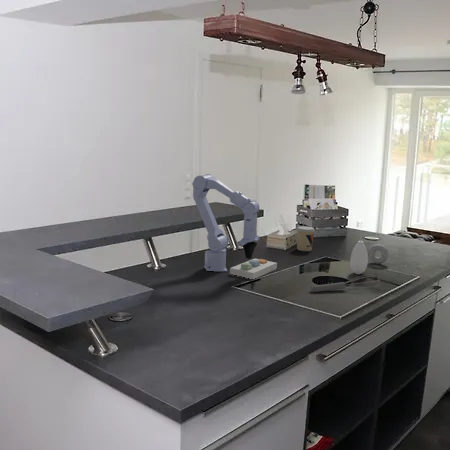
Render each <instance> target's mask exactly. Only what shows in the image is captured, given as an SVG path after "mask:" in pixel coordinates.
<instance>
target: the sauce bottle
mask: <svg viewBox="0 0 450 450" xmlns="http://www.w3.org/2000/svg"><path fill="white" fill-rule="evenodd" d="M362 237H363V236H360V239H359V240H358V241H357V243H356V244H355V245H354V246H353V249H352V251H351V253H350V254H351V255H350V260H349V263H350V264H349V265H350V268H351V271H353V272H354V274H356V275H361V274H363V273H364V272H365V270H366V269H367V267H368V263H369V257H368V250H367V248H366V245H365V244H364V243H365V242H364V241H363V240H362Z"/></svg>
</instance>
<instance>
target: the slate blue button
mask: <svg viewBox="0 0 450 450" xmlns="http://www.w3.org/2000/svg"><path fill="white" fill-rule="evenodd" d="M250 260H251V261H250ZM250 260H248V261H249V264H252V267H258V266H260V261H257V260H252V259H250Z"/></svg>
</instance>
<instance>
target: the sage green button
mask: <svg viewBox="0 0 450 450" xmlns="http://www.w3.org/2000/svg"><path fill="white" fill-rule="evenodd" d="M242 263H243V264H242ZM242 263H240V264H241V269H243V270H251V269H252V264H249V263H244V262H242Z"/></svg>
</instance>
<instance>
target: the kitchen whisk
mask: <svg viewBox="0 0 450 450" xmlns="http://www.w3.org/2000/svg"><path fill="white" fill-rule="evenodd" d="M366 276H367V278H370V276H373V278H374V279H377V283H376V284H375V285H372V286H371V288H373V290H374V289H376V288H378V287H379V286H380V282H381V280H380V277H379V276H378V275H375V274H373V273H369V274H366ZM364 278H365V276H364V274H362V275H359V276H356V277H354V278H352V279H349V280H348V281H345V282H344V281H343V282H341V281H340V282H335V283H333V282H332V283H326V284H318V285H313V286H312V285H310V286H308V287H307V288H306V290H308V289H309V288H310V291H308V293H309V294H310V293H320V292H327V291H329V292H330V291H335V290H342V289H343V290H344V289H345V288H347V289H352V290H354V287H352V286H350V285H353V283H351V282H354V281H357V280H360V279H364ZM375 282H376V280H371V281H364V282H363V281H362V284H366V283H375ZM348 283H350V284H348ZM359 284H361V282H357V283H355V285H359ZM363 288H368V289H369V286H365V287H361V286H357V288H356V290H358V291H359V290H361V289H363Z"/></svg>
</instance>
